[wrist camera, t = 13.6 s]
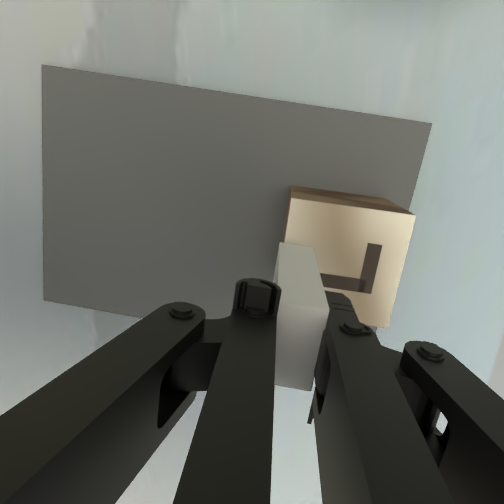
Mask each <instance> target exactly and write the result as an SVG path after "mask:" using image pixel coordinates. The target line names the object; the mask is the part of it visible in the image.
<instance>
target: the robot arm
mask: <svg viewBox="0 0 504 504" xmlns="http://www.w3.org/2000/svg"><path fill="white" fill-rule="evenodd" d="M205 318H206V314H205V311H204V310H203V309H202V308H201V307H199V306H197V305H194V304H190V303H187V302H180V301H179V302H173V303H167V304H165V305H163V306H161V307H159V308H158V309H156V310H155V311H153V312H152V313H150V314H149V315H147V316H146V317H144V318H143V319H142V320H140V321H139V322H137V323H136V324H134V325H133V326H131V327H130V328H128V329H127V330H125V331H124V332H123V333H121V334H120V335H118V336H117V337H115V338H114V339H112V340H111V341H109V342H108V343H106V344H105V345H103V346H102V347H101V348H99V349H98V350H96V351H95V352H93V353H92V354H90V355H89V356H87V357H86V358H84V359H83V360H82V361H80V362H79V363H77V364H76V365H74V366H73V367H71V368H70V369H68V370H67V371H65V372H64V373H62V374H61V375H60V376H58V377H57V378H55V379H54V380H52V381H51V382H49V383H48V384H46V385H45V386H43V387H42V388H40V389H39V390H38V391H36V392H35V393H33V394H32V395H30V396H29V397H27V398H26V399H24V400H23V401H21V402H20V403H19V404H17V405H16V406H14V407H13V408H11V409H10V410H8V411H7V412H5V413H4V414H2V415H1V416H0V504H115V503H116V501H117V500H118V499H119V498H120V496H121V495H122V494H123V492H124V491H125V490H126V488H127V487H128V486H129V485H130V483H131V482H132V481H133V479H134V478H135V477H136V475H137V474H138V473H139V471H140V470H141V469H142V468H143V466H144V465H145V464H146V462H147V461H148V460H149V458H150V457H151V456H152V454H153V453H154V452H155V451H156V449H157V448H158V447H159V445H160V444H161V443H162V441H163V440H164V439H165V437H166V436H167V435H168V434H169V432H170V431H171V430H172V428H173V427H174V426H175V424H176V423H177V422H178V420H179V419H180V418H181V417H182V415H183V414H184V413H185V411H186V410H187V409H188V407H189V406H190V405H191V403H192V402H193V401H194V399H195V396H196V392H197V391H207V393H206V397H205V400H204V403H203V406H202V410H201V413H200V416H199V419H198V423H197V426H196V429H195V432H194V436H193V439H192V442H191V446H190V449H189V452H188V455H187V459H186V462H185V465H184V468H183V472H182V475H181V478H180V482H179V485H178V488H177V491H176V495H175V498H174V501H173V504H270V491H271V464H272V437H273V411H274V385H278V386H284V387H289V388H295V389H301V390H306V391H311V390H312V385H313V381H314V376H315V384H316V387H315V391H314V395H313V400H312V404H311V409H310V413H309V417H308V422H307V423H308V424H311V422H312V419H313V418H314V424H315V434H316V444H317V453H318V463H319V473H320V483H321V493H322V502H323V504H504V400H503V399H502V398H501V397H500V396H499V395H497V394H496V393H495V392H494V391H493V390H492V389H491V388H489V387H488V386H487V385H486V384H485V383H484V382H483V381H481V380H480V379H479V378H478V377H477V376H476V375H475V374H473V373H472V372H471V371H470V370H469V369H468V368H467V367H465V366H464V365H463V364H462V363H461V362H460V361H458V360H457V359H456V358H455V357H454V356H453V355H451V354H450V353H449V352H447V351H446V350H444V349H442V348H440V347H438V346H437V345H436V344H433V343H431V344H430V342H426V341H423V342H421V341H409V342H407V343H406V344H405V346H404V350H403V353H401V352H398V351H395V350H392V349H389V348H387V347H384V346H381V344H380V342H379V340H378V338H377V336H376V334H375V332H374V331H373V330H372V329H371V328H370V327H369V326H367V325H365V324H363V323H361V322H359V319H358V317H357V315H356V313H355V310H354V307H353V305H352V303H351V300H350V299H349V298H348V297H346V296H345V295H344V294H343V293H338V292H332V291H326V290H324V287H323V284H322V280H321V276H320V272H319V269H318V265H317V261H316V257H315V254H314V250H313V247H307V246H301V245H295V244H288V243H282V242H280V243H279V249H278V255H277V261H276V266H275V272H274V278H273V282H270V281H268V280H263V279H258V278H244V279H241V280H238V281H237V282H236V287H235V293H234V300H233V307H232V312H231V315H230V316H228V317H225V318H221V319H205ZM440 412H442V413H443V414H444V416H445V417H446V419H447V421H448V423H447V426H446V429H445V431H444V433H443V434H442V433H441V432H440V431H439V430H438V429H437V428H436V427H435V426H436V423H437V420H438V418H439V415H440Z"/></svg>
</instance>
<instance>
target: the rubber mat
mask: <svg viewBox="0 0 504 504" xmlns="http://www.w3.org/2000/svg"><path fill="white" fill-rule="evenodd" d="M431 126H432V123H425V122H419V121H412V120H406V119H399V118H392V117H386V116H379V115H372V114H366V113H359V112H353V111H346V110H339V109H333V108H326V107H320V106H313V105H306V104H300V103H293V102H286V101H280V100H273V99H267V98H260V97H253V96H247V95H240V94H234V93H227V92H220V91H214V90H207V89H200V88H194V87H187V86H181V85H174V84H167V83H161V82H154V81H148V80H141V79H134V78H128V77H121V76H114V75H108V74H101V73H95V72H88V71H81V70H75V69H68V68H62V67H55V66H48V65H42V160H43V272H44V300H45V301H50V302H56V303H61V304H67V305H73V306H78V307H84V308H89V309H95V310H100V311H106V312H112V313H117V314H123V315H128V316H134V317H140V318H144V317H146V316H147V315H149V314H150V313H152V312H153V311H155V310H156V309H158V308H159V307H161V306H163V305H165V304H167V303H173V302H179V301H180V302H187V303H190V304H194V305H197V306H199V307H201V308H202V309H203V310H204V311H205V314H206V318H205V319H221V318H225V317H228V316H230V315H231V312H232V307H233V300H234V293H235V287H236V282H237V281H238V280H241V279H244V278H258V279H263V280H268V281H270V282H273V278H274V272H275V266H276V261H277V255H278V249H279V243H280V242H282V236H283V230H284V223H285V217H286V210H287V204H288V197H289V191H290V185H293V186H300V187H307V188H315V189H322V190H329V191H336V192H344V193H351V194H358V195H365V196H373V197H380V198H386V199H388V200H389V201H391V202H393V203H395V204H396V205H398V206H400V207H402V208H404V209H405V210H407V211H409V207H410V204H411V200H412V196H413V192H414V189H415V185H416V181H417V178H418V174H419V170H420V167H421V163H422V159H423V156H424V152H425V148H426V144H427V141H428V137H429V133H430V130H431ZM367 326H369V327H370V328H371V329H372V330H373V331H374V332H375V333H376V329H377V326H370V325H367Z"/></svg>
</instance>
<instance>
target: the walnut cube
mask: <svg viewBox="0 0 504 504" xmlns="http://www.w3.org/2000/svg"><path fill="white" fill-rule="evenodd" d="M415 219H416V215H414V214H412V213H411V212H409V211H407V210H405V209H404V208H402V207H400V206H398V205H396V204H395V203H393V202H391V201H389V200H388V199H386V198H380V197H373V196H365V195H358V194H351V193H344V192H336V191H329V190H322V189H315V188H307V187H300V186H293V185H290V191H289V197H288V204H287V210H286V217H285V223H284V230H283V236H282V243H288V244H295V245H301V246H307V247H313V250H314V254H315V257H316V261H317V265H318V269H319V272H320V276H321V280H322V284H323V287H324V290H326V291H332V292H338V293H343V294H344V295H345V296H346V297H348V298H349V299H350V300H351V303H352V305H353V307H354V310H355V313H356V315H357V317H358V319H359V322H361V323H363V324H365V325H370V326H377V327H383V328H388V325H389V321H390V317H391V313H392V309H393V306H394V302H395V298H396V294H397V290H398V286H399V282H400V278H401V274H402V270H403V266H404V262H405V258H406V254H407V250H408V247H409V243H410V239H411V235H412V231H413V227H414V223H415Z"/></svg>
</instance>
